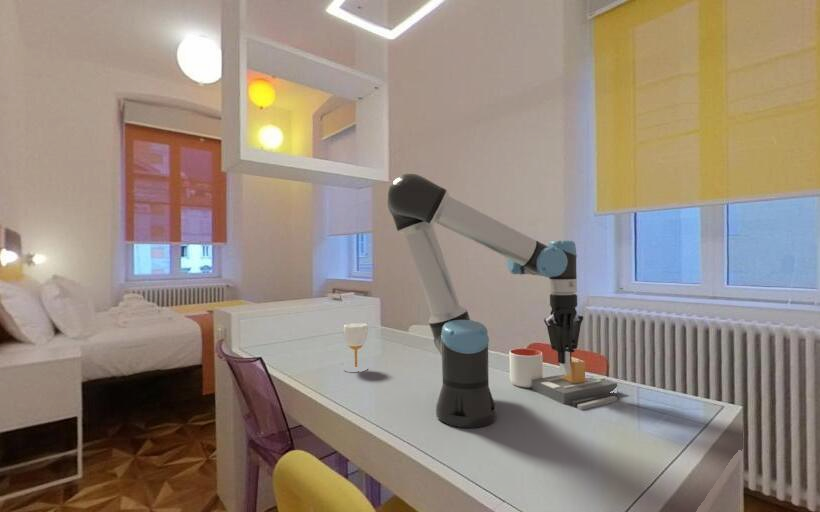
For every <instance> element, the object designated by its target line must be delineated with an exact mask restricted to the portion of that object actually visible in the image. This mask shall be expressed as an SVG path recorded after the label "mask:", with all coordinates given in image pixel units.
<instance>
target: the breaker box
mask: <svg viewBox="0 0 820 512" xmlns="http://www.w3.org/2000/svg"><path fill="white" fill-rule="evenodd" d="M592 374H593V373H592ZM593 375H595V374H593ZM597 376H598V377H597ZM597 376H596V377H592V378H585V380H586V382H581V383H576V384H575V383H572V382H569V381H567V380H564V375H563V374H557V375H552V376H546V377H543V378H539V379H533V380H532V388H531V390H533V391H535V392H537V393H538V394H540V395H543V396H545V397H546V398H547V397H548V398H549V399H552V400H553V401H556V402H558V403H560V404H562V405H567V404H571V401H573V400H578V399H583V398H588V397H593V396H598V395H603V394H608V393H610V392H611V391H613V390H614V389H615V388H616V387H617V388H618V383H617V382H615V381H612V380H609V379H606V377H603V376H600V375H597ZM593 378H594V379H593ZM605 379H606V380H605Z"/></svg>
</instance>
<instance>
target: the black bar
mask: <svg viewBox="0 0 820 512" xmlns="http://www.w3.org/2000/svg"><path fill="white" fill-rule="evenodd" d="M611 396H615V397H617V399H619V393H618V392H617V393H614V392H613V393H608V394H603V395H598V396H593V397H588V398H583V399H578V400H573V401H571V403H570V406H571V407H573V408H577V405H578V404H582V403H586V402H590V401H594V400H598V399H602V398H606V397H611Z"/></svg>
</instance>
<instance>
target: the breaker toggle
mask: <svg viewBox="0 0 820 512" xmlns="http://www.w3.org/2000/svg"><path fill="white" fill-rule="evenodd" d="M571 357H572V358H571V359H572V361H571V362H570V372H571V375H568V376H566V375H564V380H567V381H569V382H572V383H575V384H576V383H581V382H586V380H585V372H586V361H585V360H582V359H579V358H576V357H573V356H571Z"/></svg>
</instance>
